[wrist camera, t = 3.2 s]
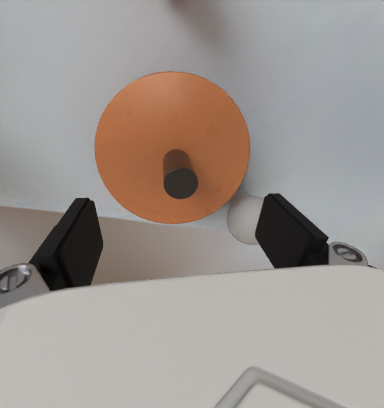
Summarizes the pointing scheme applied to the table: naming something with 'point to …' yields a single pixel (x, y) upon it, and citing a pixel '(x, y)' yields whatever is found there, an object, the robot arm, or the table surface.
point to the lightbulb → (244, 216)
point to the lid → (172, 147)
